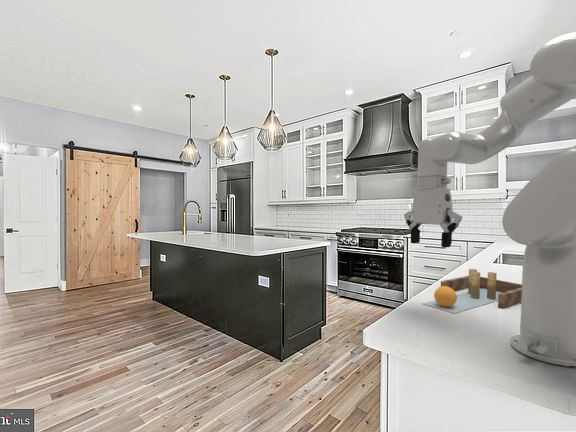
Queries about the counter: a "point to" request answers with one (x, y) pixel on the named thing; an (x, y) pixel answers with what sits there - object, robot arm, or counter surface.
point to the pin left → (470, 279)
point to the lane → (465, 302)
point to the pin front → (475, 285)
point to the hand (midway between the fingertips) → (429, 244)
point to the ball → (445, 296)
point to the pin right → (491, 285)
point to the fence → (505, 299)
